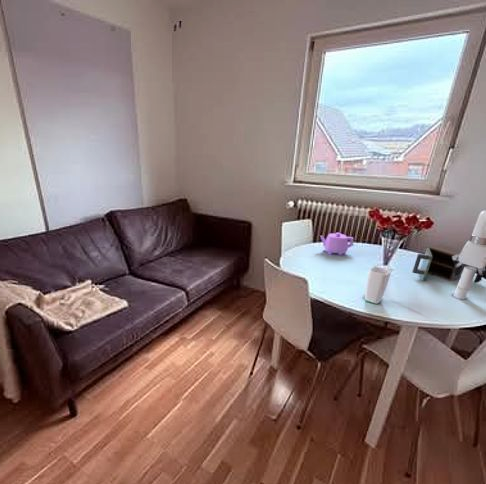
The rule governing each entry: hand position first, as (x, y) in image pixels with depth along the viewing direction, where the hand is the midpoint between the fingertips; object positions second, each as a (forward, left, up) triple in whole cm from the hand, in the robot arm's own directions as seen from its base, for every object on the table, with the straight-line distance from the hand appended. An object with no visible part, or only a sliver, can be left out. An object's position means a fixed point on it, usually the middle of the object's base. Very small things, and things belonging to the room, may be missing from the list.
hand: (466, 278), depth 138 cm
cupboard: (+19, -21, -10) cm, 30 cm away
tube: (0, 0, -10) cm, 10 cm away
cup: (+16, +38, -10) cm, 43 cm away
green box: (+24, -7, -10) cm, 27 cm away
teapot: (+69, +5, -10) cm, 70 cm away
